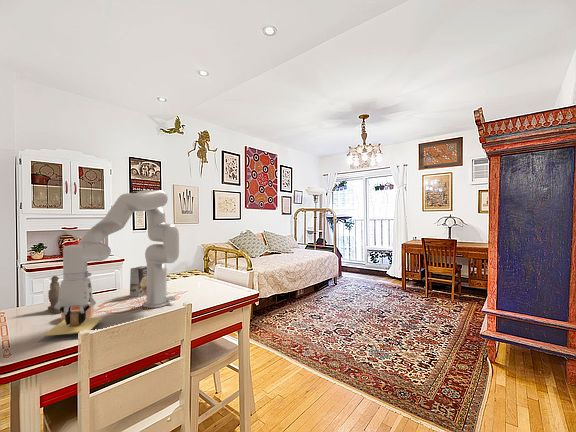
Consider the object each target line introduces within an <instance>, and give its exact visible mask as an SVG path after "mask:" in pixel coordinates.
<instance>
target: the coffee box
mask: <svg viewBox="0 0 576 432" xmlns="http://www.w3.org/2000/svg"><path fill="white" fill-rule="evenodd" d="M129 272H130V274H129V275H130V277H129V278H130V279H129V297H135V298H139V297H143V296H145V295H147V265H145V266H136V267H132V268H130V271H129Z"/></svg>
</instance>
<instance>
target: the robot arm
mask: <svg viewBox="0 0 576 432" xmlns="http://www.w3.org/2000/svg"><path fill="white" fill-rule="evenodd" d="M167 202H168V194H167V193H166V192H165V191H164V190H162V189H161V190H160V189H150V190H149V189H147V190H145V189H143V190H140V191H138V192H128V193H122V194H121V195H120V196H119V197H117V199H116V200H115V202H114V204H113V205H112V206H111V207H110V209H109V210H108V212H107V214H105V216H104V218H102V220H100V221H99V222H98V223H96V224H95V225H93V226H92V227H91V228H90V229H88V230H87V232H85V234H84V235H83V236H82V237H81V239H80V241H78V243H77V244H69V245H66V246H64V247H63V250H62V251H63V253H62V256H63V258H62V260H63V261H62V269H63V270H62V272H63V274H62V278H63V279H62V280H61V282H60V284H59V285H60V290H59V299H58V302H57V303H56V305H55V306H54V307H55V308H57V309H59V310H60V311H62V312H63V313H64V315H65V322H66V325H69V324H70V313H71V306H80V314H79V323H80V324H81V323H83V322H84V321H85V319H86V311H87V310H88V309H89V308H90V307H92V306H93V307H94V306H95V305H96V303H97V302H96V301H95V300H94V297H93V287H92V286H93V285H92V281H91V278H89V277H91V276H92V272H89V270H88V262H102V261H105V260H106V259H108V258H109V257H110V256H111V252H112V250H111V247H110V246H109V245H107V244H106V243H103V242H101V241H102V240H103V239H105V238H107V236H109V235H111V234H114V233H116V232H118V231H121V230H122V229H124V228H125V226H126V225H127V224H128V221H129V220H130V218H131V216H132V215H133V213H134V212H145V213H146V218H147V237H148V239H149V240H150V241H151V242H157V243H153V244H151V245H148V247H146V249H145V253H144V255H145V264H146V266H147V294H146V301H144V302H143V303H142V307H144V308H149V309H150V308H151V309H153V308H154V309H155V308H160V307H165V306H167V305H169V304H170V301H176V296H174V295H169V294H168V292H167V289H168V286H167V283H168V280H167V278H168V269H167V265H166V264H173V263H175V262H176V261H177V260H178V259H179V256H180V233H179V232H180V231H179V229H178V228H177V226H176V225H174V224H173V223H167V222H166V213H165V210H164V208H163V207H164V206H166V204H167ZM88 303H90V304H89V305H87V304H88ZM86 305H87V306H86Z"/></svg>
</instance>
